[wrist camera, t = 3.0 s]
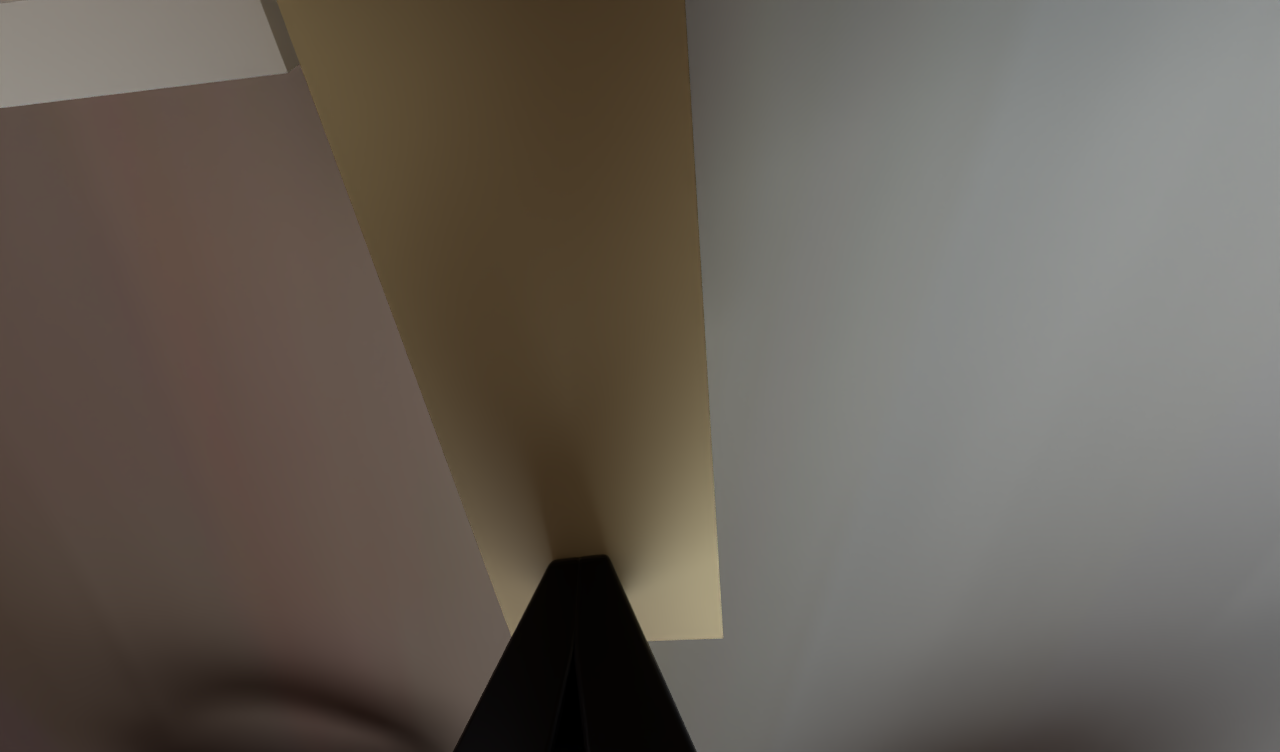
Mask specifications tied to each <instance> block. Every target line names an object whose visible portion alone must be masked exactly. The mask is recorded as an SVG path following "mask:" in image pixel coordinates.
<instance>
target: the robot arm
mask: <svg viewBox="0 0 1280 752" xmlns="http://www.w3.org/2000/svg"><path fill="white" fill-rule="evenodd" d="M453 752H697V751H696V749H695V747H694V745H693V742H692V740H691V738H690V736H689V733H688V731H687V729H686V727H685V725H684V722H683V720H682V718H681V716H680V713H679V711H678V709H677V707H676V704H675V702H674V700H673V698H672V695H671V693H670V691H669V689H668V687H667V684H666V682H665V680H664V678H663V675H662V673H661V671H660V669H659V666H658V664H657V662H656V660H655V658H654V655H653V653H652V651H651V649H650V646H649V644H648V642H647V640H646V637H645V635H644V633H643V631H642V628H641V626H640V624H639V622H638V620H637V617H636V615H635V613H634V611H633V608H632V606H631V604H630V602H629V599H628V597H627V595H626V593H625V590H624V588H623V586H622V584H621V582H620V579H619V577H618V575H617V573H616V570H615V568H614V566H613V564H612V562H611V559H610V558H609V556H607V555H605V554H603V555H593V556H584V557H581V558H577V557H575V558H566V559H557V560H553V561H552V562H551V563H550V564H549V565H548V567H547V568H546V570H545V572H544V574H543V576H542V578H541V580H540V582H539V584H538V586H537V588H536V590H535V592H534V594H533V596H532V598H531V600H530V602H529V604H528V606H527V608H526V610H525V611H524V613H523V615H522V617H521V619H520V621H519V623H518V625H517V627H516V629H515V631H514V633H513V635H512V637H511V639H510V641H509V643H508V645H507V647H506V649H505V651H504V653H503V655H502V657H501V659H500V660H499V662H498V664H497V666H496V668H495V670H494V672H493V674H492V676H491V678H490V680H489V682H488V684H487V686H486V688H485V690H484V692H483V694H482V696H481V698H480V700H479V702H478V704H477V706H476V708H475V709H474V711H473V713H472V715H471V717H470V719H469V721H468V723H467V725H466V727H465V729H464V731H463V733H462V735H461V737H460V739H459V741H458V743H457V745H456V747H455V749H454V751H453Z"/></svg>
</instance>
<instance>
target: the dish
mask: <svg viewBox="0 0 1280 752" xmlns="http://www.w3.org/2000/svg"><path fill="white" fill-rule="evenodd" d="M299 64H300V63H299V60H298V58H297V55H296V52H295V49H294V47H293V44H292V41H291V39H290V36H289V33H288V30H287V28H286V25H285V22H284V20H283V17H282V14H281V12H280V9H279V6H278V3H277V1H276V0H0V108H5V107H13V106H21V105H29V104H38V103H46V102H54V101H62V100H70V99H79V98H87V97H95V96H103V95H112V94H120V93H128V92H136V91H145V90H153V89H161V88H169V87H177V86H186V85H194V84H202V83H210V82H219V81H227V80H235V79H243V78H251V77H260V76H268V75H276V74H284V73H289V72H290V71H291V70H292V69H294V68H295V67H296V66H297V65H299Z"/></svg>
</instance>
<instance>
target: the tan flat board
mask: <svg viewBox="0 0 1280 752" xmlns="http://www.w3.org/2000/svg"><path fill="white" fill-rule="evenodd" d="M276 1H277V3H278V6H279V9H280V12H281V14H282V17H283V20H284V22H285V25H286V28H287V30H288V33H289V36H290V39H291V41H292V44H293V47H294V49H295V52H296V55H297V58H298V60H299V63H300V66H301V68H302V71H303V74H304V76H305V79H306V82H307V85H308V87H309V90H310V93H311V95H312V98H313V101H314V104H315V106H316V109H317V112H318V114H319V117H320V120H321V122H322V125H323V128H324V131H325V133H326V136H327V139H328V141H329V144H330V147H331V150H332V152H333V155H334V158H335V160H336V163H337V166H338V168H339V171H340V174H341V177H342V179H343V182H344V185H345V187H346V190H347V193H348V196H349V198H350V201H351V204H352V206H353V209H354V212H355V214H356V217H357V220H358V223H359V225H360V228H361V231H362V233H363V236H364V239H365V241H366V244H367V247H368V250H369V252H370V255H371V258H372V260H373V263H374V266H375V269H376V271H377V274H378V277H379V279H380V282H381V285H382V287H383V290H384V293H385V296H386V298H387V301H388V304H389V306H390V309H391V312H392V315H393V317H394V320H395V323H396V325H397V328H398V331H399V333H400V336H401V339H402V342H403V344H404V347H405V350H406V352H407V355H408V358H409V361H410V363H411V366H412V369H413V371H414V374H415V377H416V379H417V382H418V385H419V388H420V390H421V393H422V396H423V398H424V401H425V404H426V407H427V409H428V412H429V415H430V417H431V420H432V423H433V425H434V428H435V431H436V434H437V436H438V439H439V442H440V444H441V447H442V450H443V453H444V455H445V458H446V461H447V463H448V466H449V469H450V471H451V474H452V477H453V480H454V482H455V485H456V488H457V490H458V493H459V496H460V499H461V501H462V504H463V507H464V509H465V512H466V515H467V517H468V520H469V523H470V526H471V528H472V531H473V534H474V536H475V539H476V542H477V545H478V547H479V550H480V553H481V555H482V558H483V561H484V563H485V566H486V569H487V572H488V574H489V577H490V580H491V582H492V585H493V588H494V591H495V593H496V596H497V599H498V601H499V604H500V607H501V609H502V612H503V615H504V618H505V620H506V623H507V626H508V628H509V631H510V634H511V637H512V635H513V633H514V631H515V629H516V627H517V625H518V623H519V621H520V619H521V617H522V615H523V613H524V611H525V610H526V608H527V606H528V604H529V602H530V600H531V598H532V596H533V594H534V592H535V590H536V588H537V586H538V584H539V582H540V580H541V578H542V576H543V574H544V572H545V570H546V568H547V567H548V565H549V564H550V563H551V562H552V561H553V560H557V559H566V558H575V557H577V558H581V557H584V556H593V555H603V554H605V555H607V556H609V558H610V559H611V562H612V564H613V566H614V568H615V570H616V573H617V575H618V577H619V579H620V582H621V584H622V586H623V588H624V590H625V593H626V595H627V597H628V599H629V602H630V604H631V606H632V608H633V611H634V613H635V615H636V617H637V620H638V622H639V624H640V626H641V628H642V631H643V633H644V635H645V637H646V640H647V641H664V640H691V639H717V638H723V627H722V610H721V593H720V577H719V560H718V543H717V527H716V510H715V494H714V477H713V460H712V444H711V427H710V410H709V394H708V377H707V360H706V344H705V327H704V310H703V294H702V277H701V260H700V244H699V227H698V210H697V194H696V177H695V161H694V144H693V127H692V111H691V94H690V77H689V61H688V44H687V27H686V11H685V0H276Z"/></svg>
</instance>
